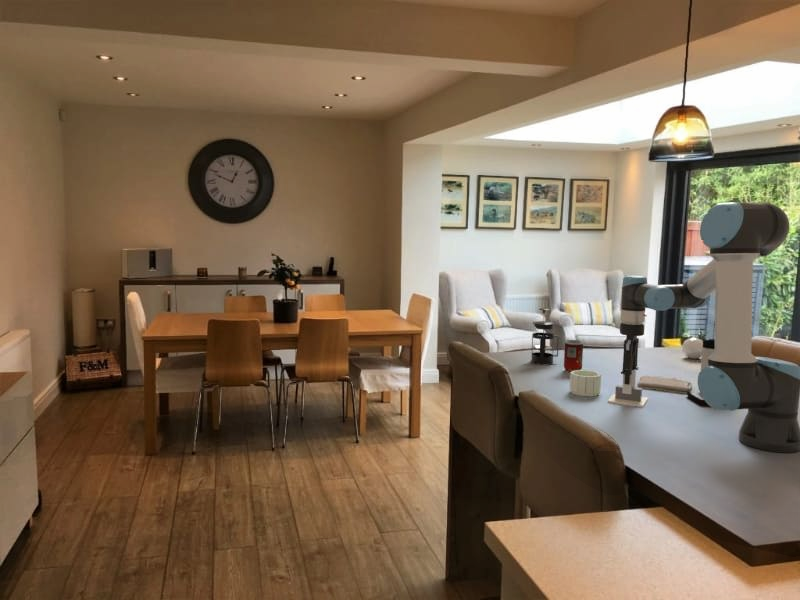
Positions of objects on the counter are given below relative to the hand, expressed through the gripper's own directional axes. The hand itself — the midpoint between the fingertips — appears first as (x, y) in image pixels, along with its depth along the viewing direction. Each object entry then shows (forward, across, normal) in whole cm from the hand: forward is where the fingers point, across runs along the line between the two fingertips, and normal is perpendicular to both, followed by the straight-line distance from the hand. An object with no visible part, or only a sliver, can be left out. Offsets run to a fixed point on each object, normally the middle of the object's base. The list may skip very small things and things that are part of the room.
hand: (628, 391), depth 214 cm
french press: (+4, +43, +42) cm, 60 cm away
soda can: (+4, +33, +27) cm, 43 cm away
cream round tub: (+4, +3, +15) cm, 16 cm away
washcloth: (+4, +26, -8) cm, 27 cm away
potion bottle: (+4, +86, -15) cm, 87 cm away
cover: (+4, 0, 0) cm, 4 cm away
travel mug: (+4, +23, -23) cm, 33 cm away
